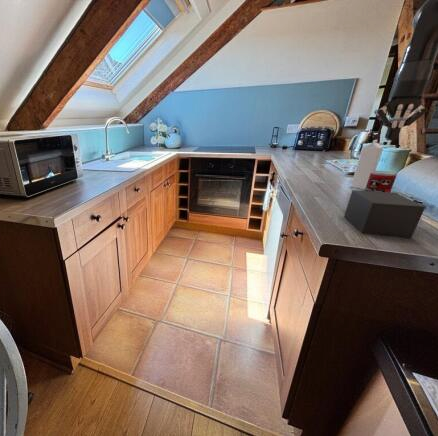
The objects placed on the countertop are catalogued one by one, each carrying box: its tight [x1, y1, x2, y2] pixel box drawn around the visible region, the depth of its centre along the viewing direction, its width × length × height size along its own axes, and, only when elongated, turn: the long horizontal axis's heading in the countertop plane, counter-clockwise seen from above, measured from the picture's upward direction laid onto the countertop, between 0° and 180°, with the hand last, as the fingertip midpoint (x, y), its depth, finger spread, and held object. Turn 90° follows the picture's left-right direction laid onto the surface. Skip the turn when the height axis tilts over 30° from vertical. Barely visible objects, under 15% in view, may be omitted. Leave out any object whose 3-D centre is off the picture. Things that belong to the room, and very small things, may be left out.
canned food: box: [364, 170, 398, 192], centre depth 100 cm, size 8×8×11 cm
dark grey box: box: [343, 189, 426, 239], centre depth 74 cm, size 14×12×10 cm
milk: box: [350, 139, 385, 190], centre depth 113 cm, size 6×6×22 cm
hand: (390, 140), depth 80 cm, fingers closed
